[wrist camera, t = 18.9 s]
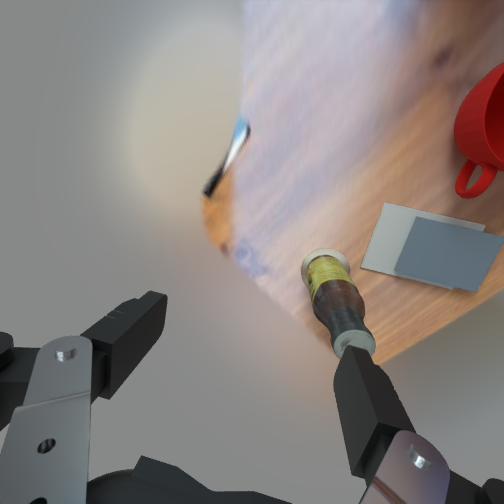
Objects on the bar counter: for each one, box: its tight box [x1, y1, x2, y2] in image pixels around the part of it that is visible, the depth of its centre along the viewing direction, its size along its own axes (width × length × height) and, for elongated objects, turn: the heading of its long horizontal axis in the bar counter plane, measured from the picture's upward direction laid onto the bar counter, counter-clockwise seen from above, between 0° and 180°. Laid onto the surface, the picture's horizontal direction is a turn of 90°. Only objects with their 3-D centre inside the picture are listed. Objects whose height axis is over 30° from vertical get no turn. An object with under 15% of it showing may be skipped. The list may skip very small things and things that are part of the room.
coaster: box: [301, 248, 350, 286], centre depth 44 cm, size 8×8×1 cm
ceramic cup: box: [454, 62, 504, 199], centre depth 31 cm, size 13×17×10 cm
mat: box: [360, 202, 486, 290], centre depth 41 cm, size 15×11×1 cm
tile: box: [394, 216, 504, 292], centre depth 39 cm, size 2×9×12 cm
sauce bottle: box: [306, 255, 376, 359], centre depth 34 cm, size 7×6×20 cm
